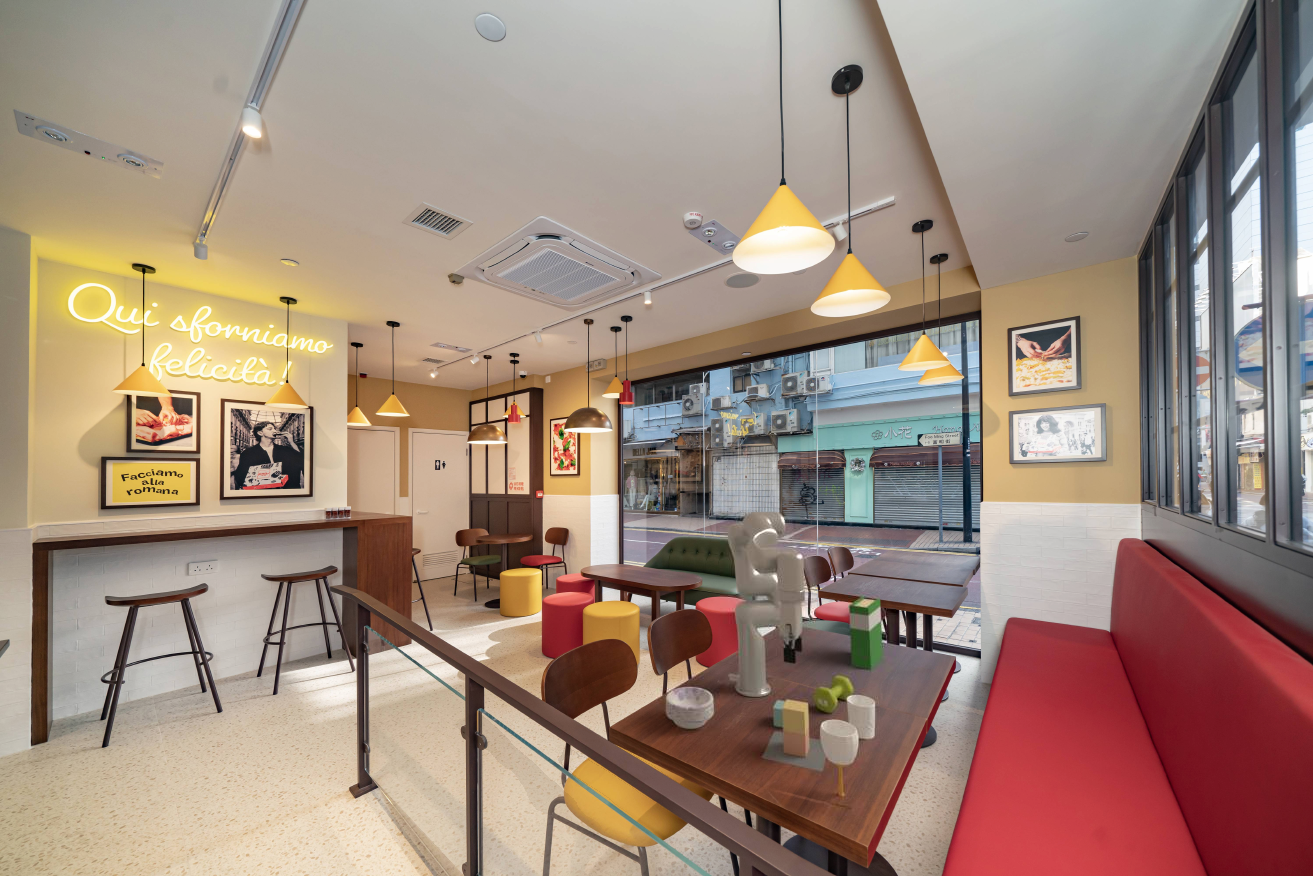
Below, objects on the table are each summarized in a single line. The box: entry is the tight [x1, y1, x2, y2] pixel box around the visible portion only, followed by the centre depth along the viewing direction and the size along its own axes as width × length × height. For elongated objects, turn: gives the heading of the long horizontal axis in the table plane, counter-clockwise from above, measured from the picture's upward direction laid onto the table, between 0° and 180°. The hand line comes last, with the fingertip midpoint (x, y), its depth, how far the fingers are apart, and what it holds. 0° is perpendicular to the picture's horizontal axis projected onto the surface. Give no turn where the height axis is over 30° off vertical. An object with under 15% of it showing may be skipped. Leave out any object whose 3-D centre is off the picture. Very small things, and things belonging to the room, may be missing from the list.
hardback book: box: [848, 596, 884, 671], centre depth 210 cm, size 18×7×24 cm, turn 142°
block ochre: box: [782, 699, 810, 735], centre depth 143 cm, size 6×6×6 cm
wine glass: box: [819, 719, 860, 810], centre depth 123 cm, size 9×9×16 cm
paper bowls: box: [665, 686, 715, 730], centre depth 161 cm, size 15×15×8 cm
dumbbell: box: [812, 675, 855, 714], centre depth 171 cm, size 16×8×7 cm, turn 135°
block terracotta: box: [782, 726, 810, 757], centre depth 142 cm, size 6×6×6 cm
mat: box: [761, 730, 827, 773], centre depth 142 cm, size 16×16×1 cm
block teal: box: [772, 699, 786, 728], centre depth 158 cm, size 6×6×6 cm
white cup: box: [846, 694, 876, 740], centre depth 151 cm, size 8×8×10 cm
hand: (793, 656), depth 144 cm, fingers open, 9 cm apart
